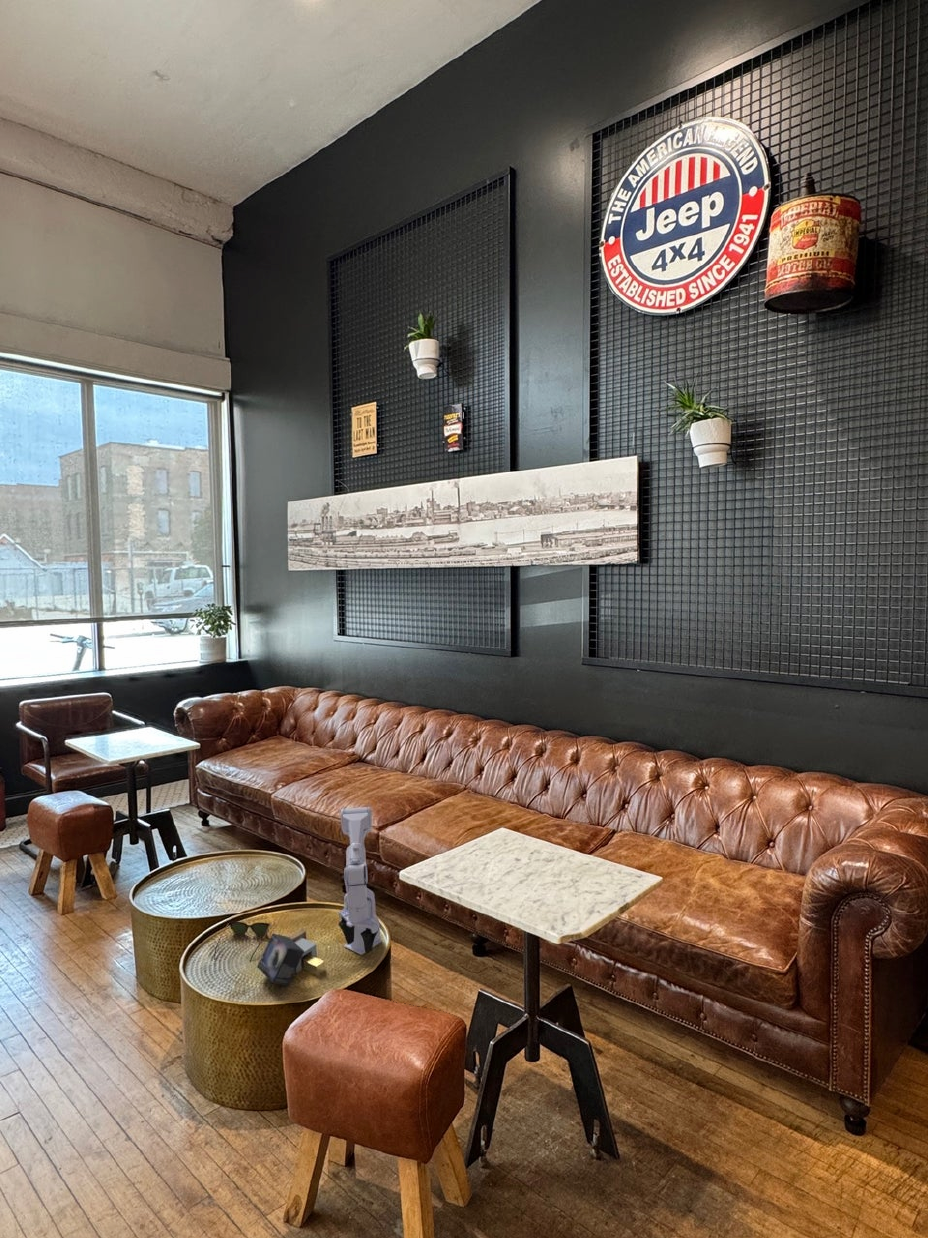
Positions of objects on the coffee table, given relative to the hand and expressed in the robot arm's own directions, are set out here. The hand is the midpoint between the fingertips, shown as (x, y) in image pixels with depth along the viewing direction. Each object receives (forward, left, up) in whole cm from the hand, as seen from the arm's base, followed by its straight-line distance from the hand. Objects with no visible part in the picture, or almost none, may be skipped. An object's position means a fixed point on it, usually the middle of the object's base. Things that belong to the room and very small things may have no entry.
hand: (359, 947), depth 216 cm
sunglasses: (+11, -43, -11) cm, 46 cm away
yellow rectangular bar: (+6, -17, -10) cm, 20 cm away
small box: (+17, -20, -8) cm, 28 cm away
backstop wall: (+6, -26, -10) cm, 28 cm away
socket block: (+6, -21, -10) cm, 24 cm away
